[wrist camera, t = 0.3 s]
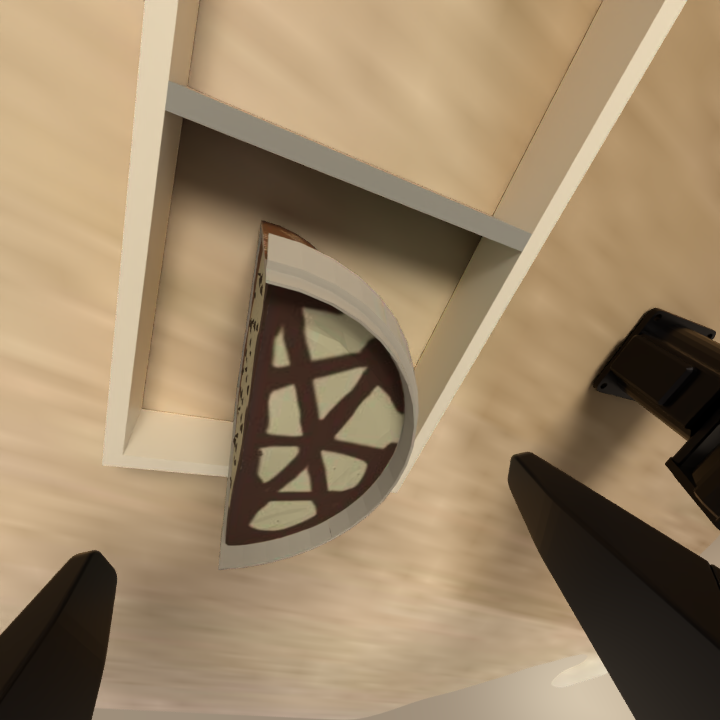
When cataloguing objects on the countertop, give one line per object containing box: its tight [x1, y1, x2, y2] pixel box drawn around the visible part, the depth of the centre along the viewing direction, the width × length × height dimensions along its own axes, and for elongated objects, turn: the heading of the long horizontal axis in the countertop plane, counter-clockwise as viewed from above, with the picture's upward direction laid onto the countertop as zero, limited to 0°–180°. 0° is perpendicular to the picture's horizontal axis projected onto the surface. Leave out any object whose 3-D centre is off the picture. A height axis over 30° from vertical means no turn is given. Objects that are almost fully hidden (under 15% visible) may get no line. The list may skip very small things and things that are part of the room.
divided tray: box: [102, 0, 687, 493], centre depth 16 cm, size 16×32×4 cm, turn 158°
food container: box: [218, 221, 419, 570], centre depth 17 cm, size 12×6×10 cm, turn 164°
